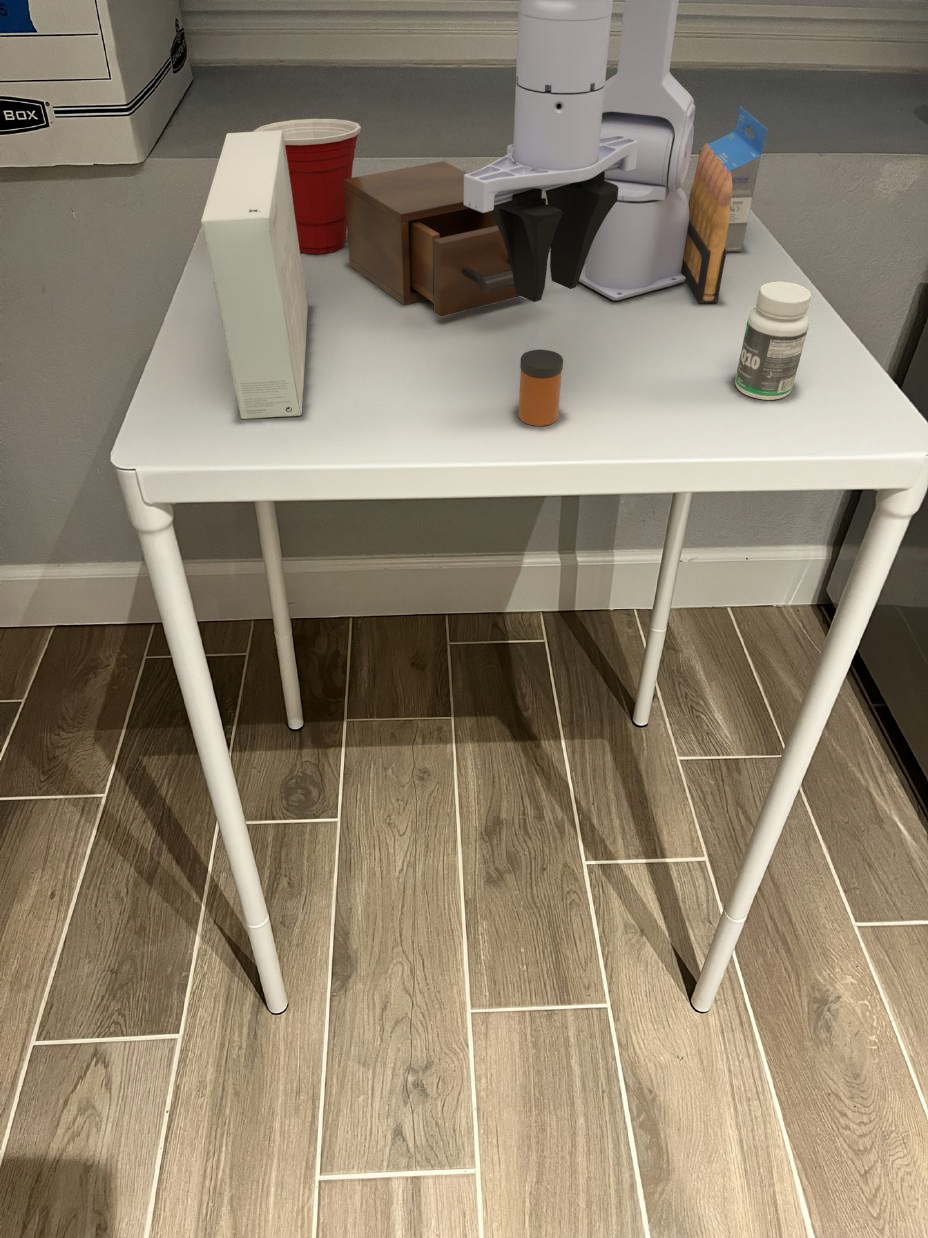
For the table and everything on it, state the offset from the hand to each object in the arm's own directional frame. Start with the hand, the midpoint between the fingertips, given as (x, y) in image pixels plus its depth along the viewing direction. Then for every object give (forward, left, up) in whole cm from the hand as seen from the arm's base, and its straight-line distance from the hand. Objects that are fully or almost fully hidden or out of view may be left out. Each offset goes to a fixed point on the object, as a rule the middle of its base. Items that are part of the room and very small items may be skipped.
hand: (546, 290), depth 71 cm
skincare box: (+14, -20, -11) cm, 27 cm away
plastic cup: (-1, -43, -11) cm, 44 cm away
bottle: (0, 0, -10) cm, 10 cm away
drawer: (-7, -21, -9) cm, 24 cm away
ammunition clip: (-30, -14, -11) cm, 34 cm away
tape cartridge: (-40, -22, -11) cm, 47 cm away
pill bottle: (-19, +6, -11) cm, 23 cm away
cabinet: (-7, -30, -10) cm, 32 cm away
